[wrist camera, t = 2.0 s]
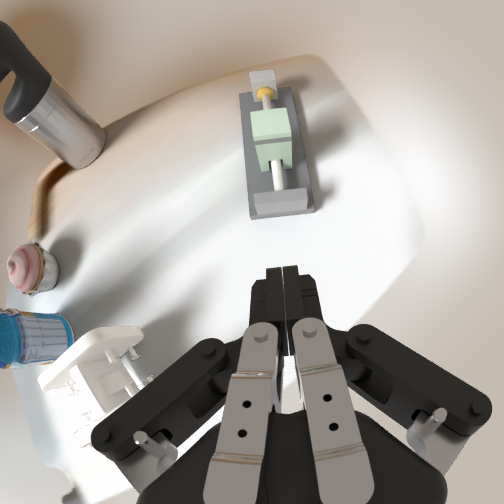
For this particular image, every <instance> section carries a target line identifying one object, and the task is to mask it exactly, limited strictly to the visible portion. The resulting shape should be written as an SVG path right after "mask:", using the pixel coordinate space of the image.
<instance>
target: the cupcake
mask: <svg viewBox="0 0 504 504" xmlns="http://www.w3.org/2000/svg"><path fill="white" fill-rule="evenodd" d="M7 268H8V270H9V278H10V281H11V282H12V284H13V285H15V286H16V287H17V289H19V290H20V291H21V292H22V295H23V296H24V295H28V296H29V297H30V298H31V297H32V296H34V295H35V294H37V293H41V292H46V291H49V290H51V289H52V288H53V287H54V286H55V284H56V282H57V279H58V275H59V267H58V263H57V260H56V259H55V257H54V256H52V255H51V254H49V253H48V252H47V251H46V250H44V249H43V248H42V246H41V245H40V244H39V242H38V241H37V242H35V243H33V242H29V243H28V245H27V244H24V245H22V246H20V247H18V248H17V250H15V251H14V252H13V253H12V254H11V255H10V257H9V258H8V261H7Z"/></svg>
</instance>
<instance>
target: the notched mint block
mask: <svg viewBox="0 0 504 504" xmlns="http://www.w3.org/2000/svg"><path fill="white" fill-rule="evenodd" d="M250 115H251V124H252V133H253V141H254V146H255V148H256V152H257V156H258V160H259V164H260V169H261V172H266V171H270V169H269V161H272V160H280V159H282V161H283V168H284V169H292V135H291V129H290V124H289V119H288V114H287V109H286V108H277V109H269V110H261V111H254V112H250Z"/></svg>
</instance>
